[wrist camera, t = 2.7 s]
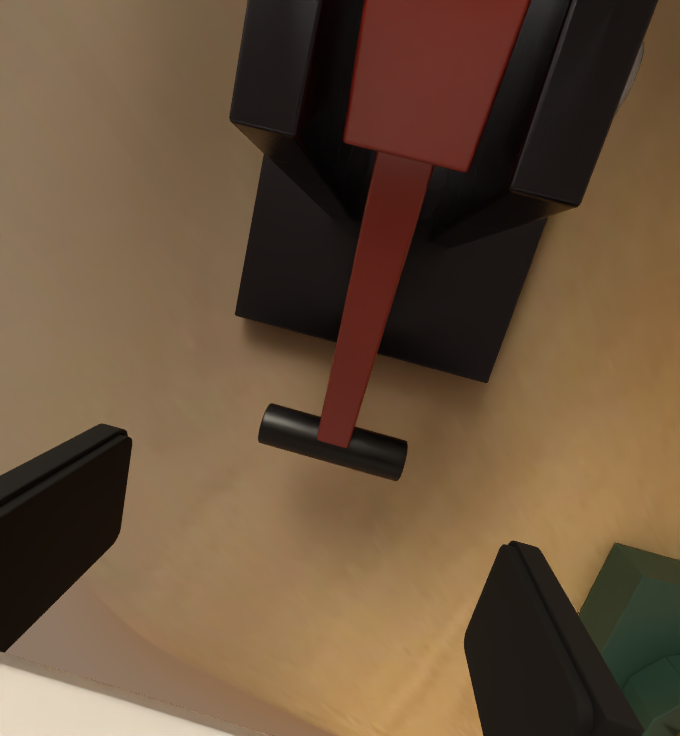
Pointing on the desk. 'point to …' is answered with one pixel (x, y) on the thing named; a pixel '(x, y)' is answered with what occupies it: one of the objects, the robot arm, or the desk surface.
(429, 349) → the bracket
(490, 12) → the lever
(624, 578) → the control block
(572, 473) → the desk surface
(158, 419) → the desk surface
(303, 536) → the desk surface
